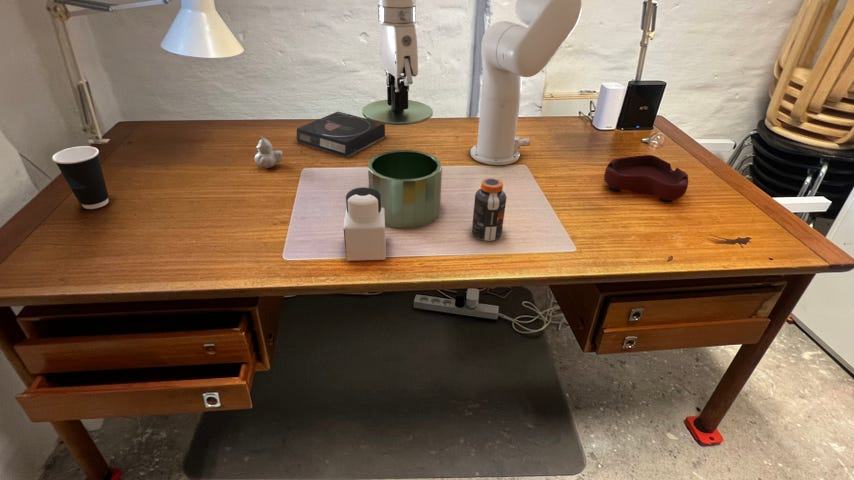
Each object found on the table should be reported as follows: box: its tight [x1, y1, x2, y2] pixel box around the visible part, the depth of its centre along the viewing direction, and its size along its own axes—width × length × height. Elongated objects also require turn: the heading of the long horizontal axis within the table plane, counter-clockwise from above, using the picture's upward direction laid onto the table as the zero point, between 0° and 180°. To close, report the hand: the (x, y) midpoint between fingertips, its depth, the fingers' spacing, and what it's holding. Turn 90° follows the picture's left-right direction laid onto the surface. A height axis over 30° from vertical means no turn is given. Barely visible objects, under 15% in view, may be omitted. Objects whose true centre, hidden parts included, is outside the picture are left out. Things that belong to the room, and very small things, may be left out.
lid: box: [361, 83, 434, 126], centre depth 111 cm, size 16×16×7 cm
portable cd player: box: [295, 111, 386, 158], centre depth 136 cm, size 16×17×4 cm
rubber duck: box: [254, 134, 284, 169], centre depth 121 cm, size 5×7×8 cm
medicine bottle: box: [343, 186, 387, 262], centre depth 91 cm, size 7×7×12 cm
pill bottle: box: [471, 177, 507, 242], centre depth 97 cm, size 6×6×11 cm
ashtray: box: [603, 154, 689, 204], centre depth 118 cm, size 18×16×5 cm
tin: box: [367, 149, 443, 230], centre depth 104 cm, size 15×15×10 cm
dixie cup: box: [51, 145, 110, 210], centre depth 103 cm, size 8×8×11 cm
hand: (397, 106), depth 112 cm, fingers closed on lid, 2 cm apart
